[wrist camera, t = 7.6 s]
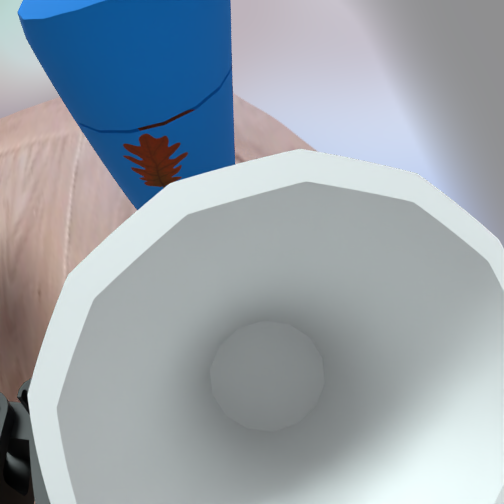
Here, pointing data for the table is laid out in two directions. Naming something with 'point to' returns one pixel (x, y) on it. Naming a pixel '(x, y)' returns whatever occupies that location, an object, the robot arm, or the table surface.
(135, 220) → the foam cup
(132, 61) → the thermos
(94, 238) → the table surface
